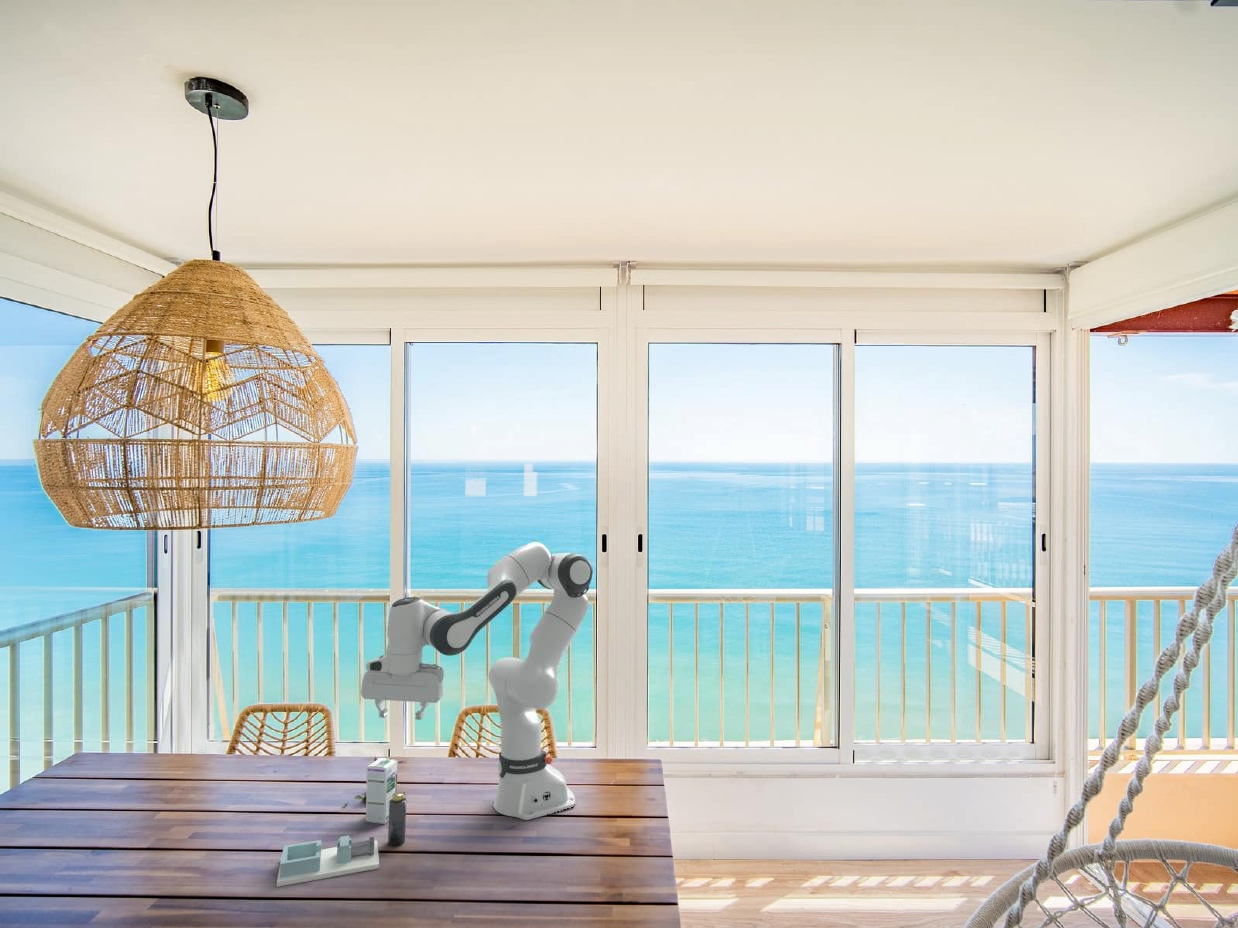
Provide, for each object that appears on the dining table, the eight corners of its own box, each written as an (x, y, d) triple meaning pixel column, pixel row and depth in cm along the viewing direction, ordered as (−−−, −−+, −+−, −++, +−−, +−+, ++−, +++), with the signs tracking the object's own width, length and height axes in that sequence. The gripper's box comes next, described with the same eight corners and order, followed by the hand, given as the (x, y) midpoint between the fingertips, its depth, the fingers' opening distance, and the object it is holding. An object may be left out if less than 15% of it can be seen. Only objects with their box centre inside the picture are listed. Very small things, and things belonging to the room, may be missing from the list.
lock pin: (373, 848, 160) (373, 836, 160) (373, 854, 157) (374, 842, 158) (337, 855, 157) (337, 842, 157) (336, 860, 154) (337, 848, 155)
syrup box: (385, 824, 174) (387, 767, 174) (364, 822, 175) (366, 765, 176) (396, 814, 179) (398, 759, 180) (376, 811, 181) (378, 757, 181)
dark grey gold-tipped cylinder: (404, 836, 168) (405, 789, 168) (405, 844, 164) (407, 796, 165) (387, 839, 166) (389, 792, 167) (388, 847, 163) (389, 799, 163)
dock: (377, 844, 164) (377, 824, 164) (379, 868, 154) (379, 847, 154) (281, 860, 156) (282, 839, 156) (276, 887, 146) (277, 864, 146)
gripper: (447, 661, 173) (445, 716, 172) (370, 657, 174) (367, 711, 174) (439, 667, 167) (437, 724, 166) (359, 663, 168) (356, 719, 167)
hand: (401, 718), depth 170 cm, fingers open, 8 cm apart
